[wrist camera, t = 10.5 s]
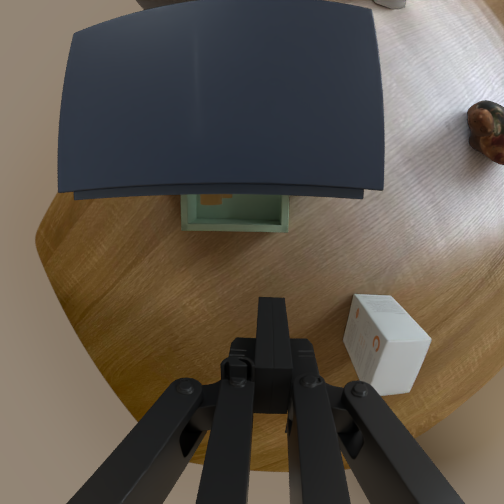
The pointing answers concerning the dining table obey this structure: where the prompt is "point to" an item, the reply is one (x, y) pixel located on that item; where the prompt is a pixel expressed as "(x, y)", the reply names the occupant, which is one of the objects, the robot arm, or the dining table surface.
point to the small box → (384, 343)
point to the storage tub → (236, 213)
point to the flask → (391, 3)
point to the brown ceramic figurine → (487, 129)
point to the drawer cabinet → (224, 102)
